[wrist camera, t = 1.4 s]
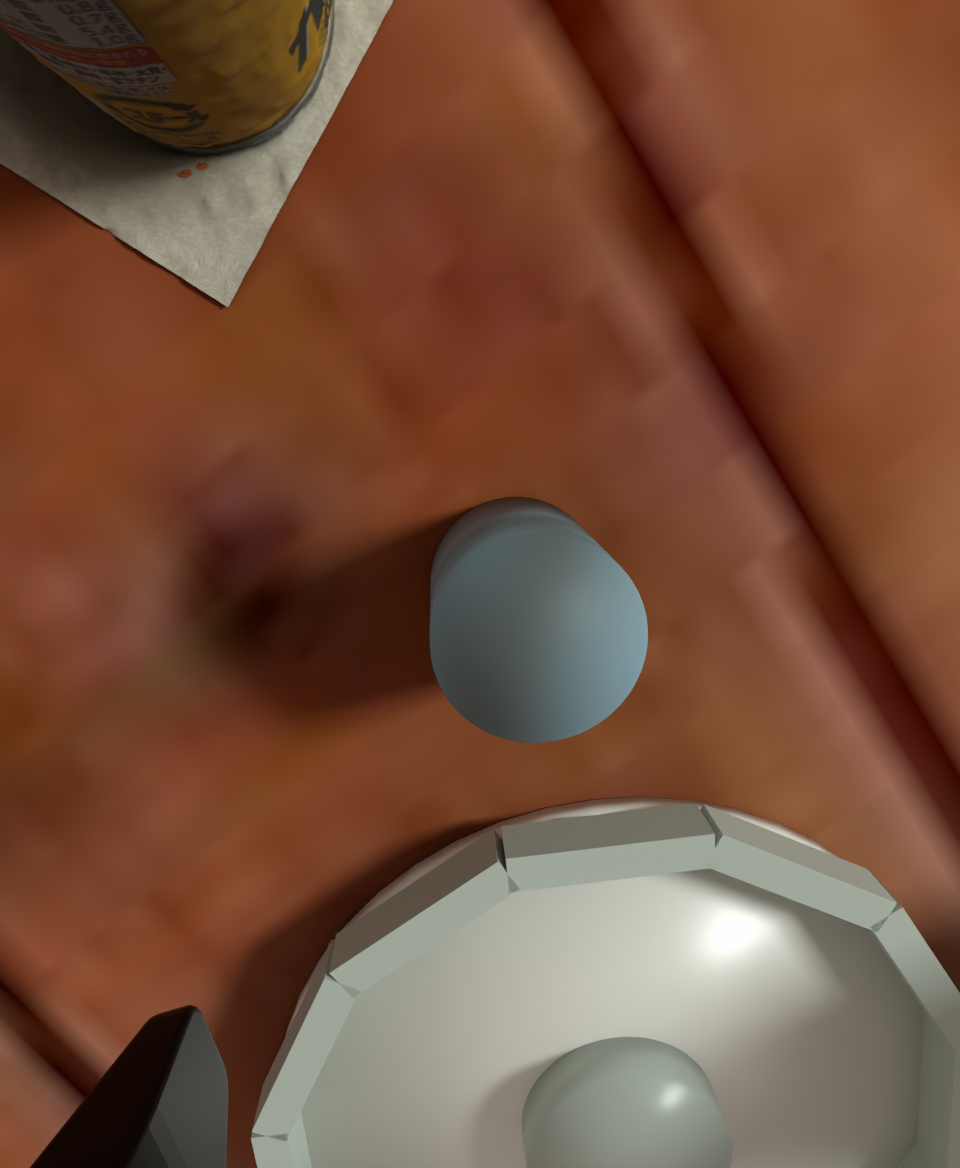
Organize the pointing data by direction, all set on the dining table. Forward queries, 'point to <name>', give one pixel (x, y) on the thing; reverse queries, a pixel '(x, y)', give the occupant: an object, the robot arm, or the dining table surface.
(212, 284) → the condiment
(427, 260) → the dining table surface
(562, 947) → the tray
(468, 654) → the blue-grey short cylinder
